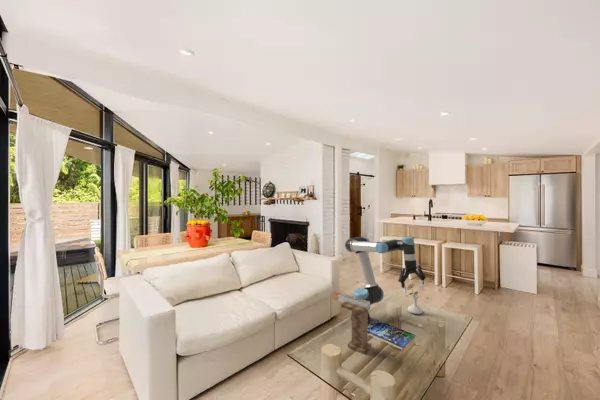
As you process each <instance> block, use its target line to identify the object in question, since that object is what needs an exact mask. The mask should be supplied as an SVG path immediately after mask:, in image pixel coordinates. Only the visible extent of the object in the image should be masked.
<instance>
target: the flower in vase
mask: <svg viewBox="0 0 600 400" xmlns="http://www.w3.org/2000/svg"><path fill="white" fill-rule="evenodd" d="M414 287H415V283H413V282H412V283H409V285H407V286H406V291H407V290H412V292H410V293H408V295H409V296H412V298H413V304H412V305H410V306H408V307H407V311H408V312H409V313H411V314H413V315H421V314H422V313H423V309H422V308H421V307H420V306H419V305H418V304H417V302H418V298H419V297H420V296H419V295H418V294H419V292H418V291H415V292H414V290H413V288H414Z"/></svg>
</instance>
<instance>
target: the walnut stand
mask: <svg viewBox="0 0 600 400" xmlns="http://www.w3.org/2000/svg"><path fill="white" fill-rule="evenodd" d="M340 306H341V308H343V309H346V310H349V311H351V314H352V320H351V340H350V341H349V343H347V348H349V349H351V350H354V351H356V352H359V353H360V354H363V355H365V354H366V353H367V352H368V351H369V350H370V348H371V347H372V344H371V343H370V342H368V329H369V328H368V326H369V325H368V324H369V323H368V312H369V310H370V309H371V307H370V308H369V309H368V310H365V309H362V308H359V307H356V306H353V305H350V304H346V303H343V302H341V305H340Z"/></svg>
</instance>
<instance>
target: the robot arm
mask: <svg viewBox="0 0 600 400" xmlns="http://www.w3.org/2000/svg"><path fill="white" fill-rule="evenodd" d="M415 247H416V244H415V239H414V237H411V236H404V237H402V239H395V238H394V239H389V240H387V241H370V240H369V238H368V237H366V236H363V235H362V236H357V237H351V238H348V239H346V241H345V244H344V248H345V249H346V251H348V252H349V253H355V255H357V257H358V260H359V264H360V265H359V266H360V269H361V274H362V277H363V280H364V288H361V287H360V288H356V289H355V290H353V294H352V295H353V296H352V297H356V298H359V299H362V300H366V301H369V302H370V306H371V305H373V304H377V303H380V302H382V301H383V299H384V296H385V295H384V294H385V293H384V291H383V289H382V287H381V286H379V284H378V283H377V282H376V278H375V275H374V271H373V267H372V262H371V260H370V255H369V253H370V252H372V253H378V254H386V253H391V252H395V251H403V252H402V253H403V259H404V266H405V267H401V268H400V269H401V270H400V271H401V272H400V273H399V278H398V280H397V281H398V282H399V283H400V284H401V288H402V292H403V293H404V294H406V293H407V284H406V280H407V278H408V277H409V275H412V274H415V275H416V276H417V277H418V282H419V283H418V284H419V289H420V290H421V291H424V284H425V283H424V282H425V280H426V279H427V277H426V275H425V274H424V272H423V269H422V268H421V265H418V264H417V260H416V259H417V256H416V249H415ZM350 320H351V321H352V313H351V314H350ZM370 322H371V315H370V312H369V311H368V324H369V323H370Z"/></svg>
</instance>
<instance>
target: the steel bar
mask: <svg viewBox="0 0 600 400" xmlns="http://www.w3.org/2000/svg"><path fill="white" fill-rule="evenodd" d="M331 299H332V300H334V301H337V302H341V303H346V304H350V305H353V306H356V307H359V308H362V309H365V310H368V309H369V308H370V309H371V305H370V302H369V301H366V300H362V299H359V298H356V297H353V296H352V295H348V294H345V293H341V292H339V291H335V290H334V292H332V293H331ZM370 309H369V310H370ZM369 310H368V311H369Z"/></svg>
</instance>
